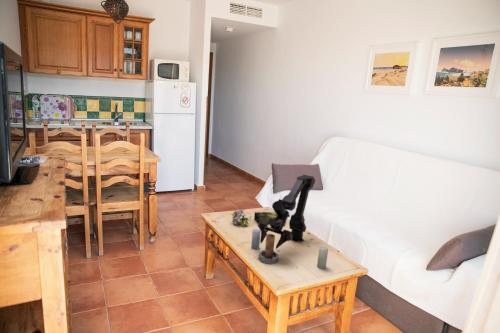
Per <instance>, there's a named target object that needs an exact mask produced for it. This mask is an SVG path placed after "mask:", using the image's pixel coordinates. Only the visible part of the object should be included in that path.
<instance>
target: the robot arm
mask: <svg viewBox="0 0 500 333" xmlns="http://www.w3.org/2000/svg"><path fill="white" fill-rule="evenodd" d="M315 183H316V179H315V177H314V176H313V175H308V174H303V175H299V176H297V177H296V181H295V183H294V184H293V186H292V188H291V190H290V191H289V193H288V194H287V195H285V196H283V198H282V199H281V198H279V199H278V200H276V201H274V202H273V203H272V206H271V207H272V208H271V209H273V212H275V213H276V214H277V216H276V218H274V219H271V218H269V220H268V223H267V224H270V225H269V226H268V225H267V224H265V223H262V222H261V223H259V224H258V223H257V224H258V225H257V227H258V230H260V231H261V232H260V244H262V243H263V242H264V241H265V240H266V235H267V234H268V232H272V233H275V234H278V235H280V237H279V239H278V241H277V244H276V246H275V249H278V248H279V247H281V246H282V245H283V244H284V243H286V242H289V241H292V242H294V243H296V242H297V243H298V242H303V241H305V240H304V238H303V237H304V233H306V231H307V230H306V229H307V226H306V225H307V224H306V223H305V222H306V221H305V216H304V213H305V209H306V205H307V202H308V201H307V200H308V197H309V193H310V191H311V190H312V189H313V187H314V185H315ZM297 199H298V200H297ZM293 210H295V211H294V212H295V213H293V214H291V215H290V211H291V212H292V211H293ZM288 218H290V220H289V222H288V224H289V225H288V226H289V229H290V230H291V231H290V230H287V229H283V228H284V227H286V223H287V220H288ZM285 222H286V223H285Z"/></svg>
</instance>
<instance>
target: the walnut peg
mask: <svg viewBox="0 0 500 333" xmlns="http://www.w3.org/2000/svg"><path fill="white" fill-rule="evenodd" d="M275 237H276V235H275V234H272V233H267V235H266V237H265V245H264V246H265V248H264V250H265V256H264V257H265V258H274V257H273V251H275V249H274V248H275V240H276V238H275Z"/></svg>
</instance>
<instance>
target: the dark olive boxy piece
mask: <svg viewBox="0 0 500 333" xmlns="http://www.w3.org/2000/svg"><path fill="white" fill-rule="evenodd" d="M276 216H277V214H276V213H275V211H262V212H261V211H260V212H259V211H258V212H257V211H256V212H254V216H253V217H254V218H253V219H254V221H257V224H259V223H261V222H262V223H265V224H267V223H268V220H269V218H271V219H274V218H276ZM256 219H258V220H256ZM286 223H287V221H286V222H285V224H286ZM268 225H269V226H270V224H267V226H268Z"/></svg>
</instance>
